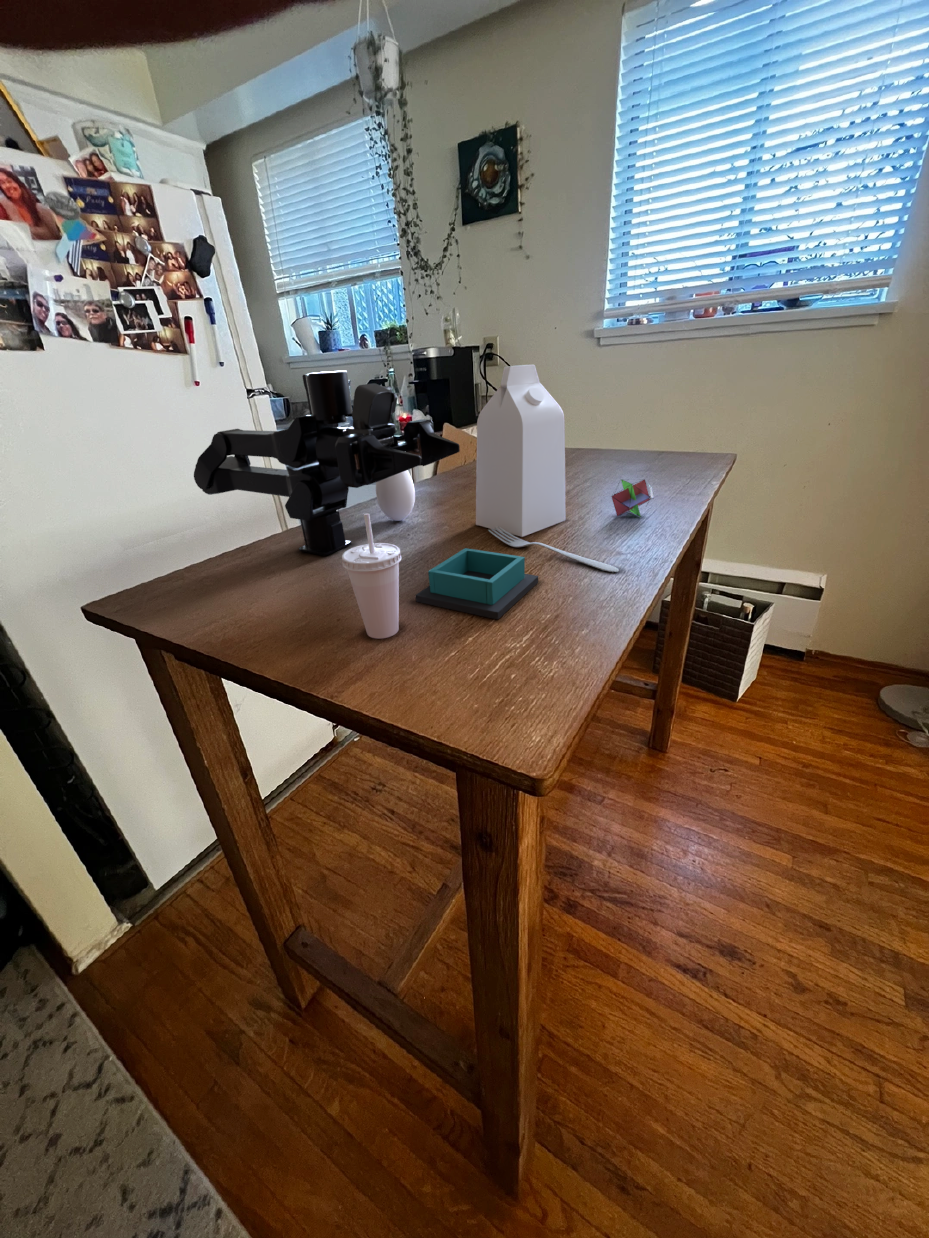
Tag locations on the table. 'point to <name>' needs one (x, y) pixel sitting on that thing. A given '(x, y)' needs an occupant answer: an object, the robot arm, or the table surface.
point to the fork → (578, 558)
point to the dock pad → (478, 583)
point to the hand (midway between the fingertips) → (440, 454)
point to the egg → (396, 495)
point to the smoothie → (375, 583)
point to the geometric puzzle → (631, 497)
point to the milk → (520, 456)
